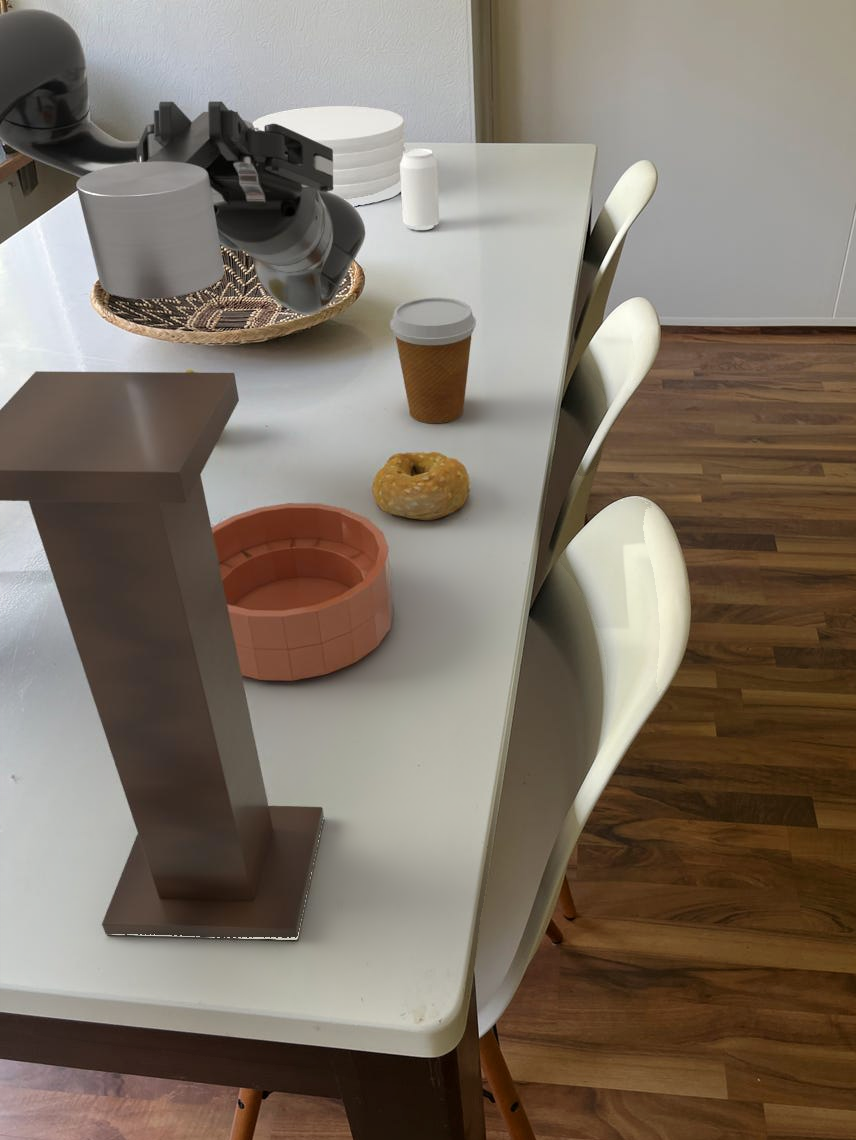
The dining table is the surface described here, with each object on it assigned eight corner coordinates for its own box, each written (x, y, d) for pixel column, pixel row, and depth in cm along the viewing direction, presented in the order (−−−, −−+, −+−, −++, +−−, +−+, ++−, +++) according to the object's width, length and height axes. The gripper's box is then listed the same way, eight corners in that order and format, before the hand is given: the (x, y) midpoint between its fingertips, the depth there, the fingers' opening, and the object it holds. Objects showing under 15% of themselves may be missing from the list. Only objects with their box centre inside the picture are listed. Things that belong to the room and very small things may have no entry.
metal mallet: (83, 299, 52) (56, 195, 49) (184, 192, 67) (169, 108, 64) (207, 300, 51) (189, 195, 48) (281, 192, 66) (271, 107, 63)
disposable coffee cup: (442, 438, 114) (439, 334, 107) (379, 415, 119) (371, 314, 112) (493, 407, 120) (493, 307, 113) (431, 387, 125) (426, 289, 117)
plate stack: (355, 161, 211) (350, 99, 204) (436, 189, 194) (433, 123, 187) (234, 185, 198) (224, 120, 191) (308, 218, 180) (300, 148, 173)
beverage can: (438, 232, 173) (435, 156, 166) (401, 233, 173) (397, 156, 166) (440, 221, 178) (437, 147, 170) (404, 222, 178) (400, 147, 171)
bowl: (174, 684, 82) (156, 614, 77) (224, 567, 95) (211, 501, 90) (381, 688, 81) (374, 618, 77) (402, 569, 94) (397, 504, 90)
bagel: (474, 473, 108) (473, 432, 105) (466, 529, 99) (465, 486, 96) (381, 471, 109) (377, 430, 106) (365, 526, 100) (361, 484, 97)
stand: (105, 936, 63) (-79, 469, 43) (153, 814, 71) (15, 370, 51) (298, 941, 63) (202, 472, 42) (324, 818, 70) (254, 372, 50)
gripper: (360, 256, 75) (311, 189, 58) (174, 255, 76) (72, 189, 59) (359, 148, 74) (309, 47, 57) (170, 148, 75) (65, 48, 58)
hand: (189, 120), depth 58 cm, fingers closed on metal mallet
